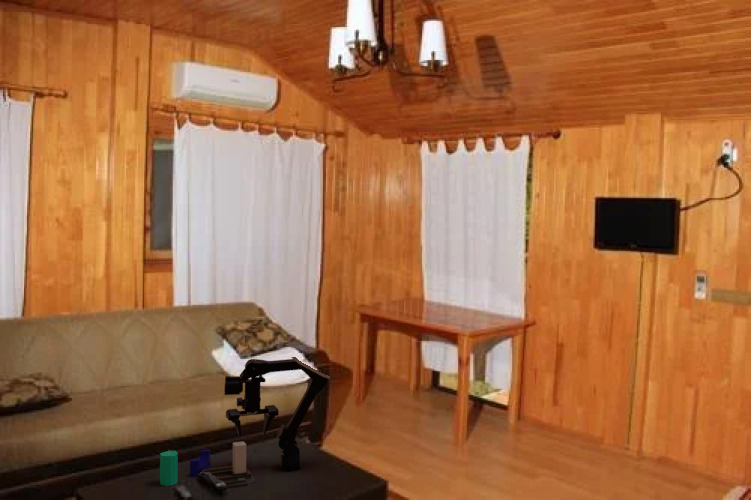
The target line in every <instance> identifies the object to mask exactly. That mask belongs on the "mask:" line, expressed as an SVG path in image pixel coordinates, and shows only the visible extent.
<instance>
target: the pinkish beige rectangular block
mask: <svg viewBox="0 0 751 500" xmlns="http://www.w3.org/2000/svg"><path fill="white" fill-rule="evenodd" d="M246 465H247V443H246V442H245V441H235V442H232V466H233V470H231V473H232V475H233V476H236V475H243V474H248V472H247V471H246Z"/></svg>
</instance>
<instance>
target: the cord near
mask: <svg viewBox="0 0 751 500" xmlns="http://www.w3.org/2000/svg"><path fill="white" fill-rule="evenodd" d="M248 484H249V483H248V482H240V483H234V484H229V486H228V488H236V487H238V488H239V487H243V486H248Z"/></svg>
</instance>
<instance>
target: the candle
mask: <svg viewBox="0 0 751 500" xmlns="http://www.w3.org/2000/svg"><path fill="white" fill-rule="evenodd" d="M178 454H179V453H178V452H177V451H176V450H168V451H167V450H166V451H163V452H161V453H159V462H160V463H159V484H160V485H161V486H163V485H164V486H165V487H169V486H170V485H171V486H173V485H174V484H175V485H176V484H178V475H179V474H178V473H179V471H178V469H179V468H178V467H179V466H178V463H179V461H178V459H179V458H178Z"/></svg>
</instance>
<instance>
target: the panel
mask: <svg viewBox="0 0 751 500" xmlns="http://www.w3.org/2000/svg"><path fill="white" fill-rule="evenodd" d="M232 470H233V469H232ZM246 471H247V472H248V474H243V475H236V476H233V475H232V473H231V470H224V471H217V472H210V473H211V474H212V475H214V476H216V477H218V478H216V479H219V480H222V481H223V482H224V483H225V484H226V485H227V486H226V487H229V484H234V483H240V482H248V484H251V483H253V484H254V483H255V477H254V476H253V474H252V473H251V472H250V470H249V468H248V469H247V467H246Z"/></svg>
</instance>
